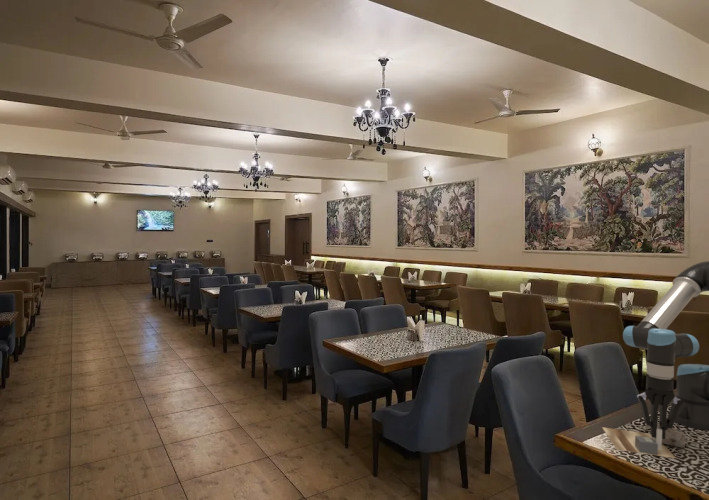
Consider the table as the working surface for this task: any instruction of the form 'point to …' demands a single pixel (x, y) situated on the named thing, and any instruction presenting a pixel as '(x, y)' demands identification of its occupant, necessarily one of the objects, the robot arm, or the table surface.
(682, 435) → the stone
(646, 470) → the table surface
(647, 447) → the block
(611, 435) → the subfloor panel
